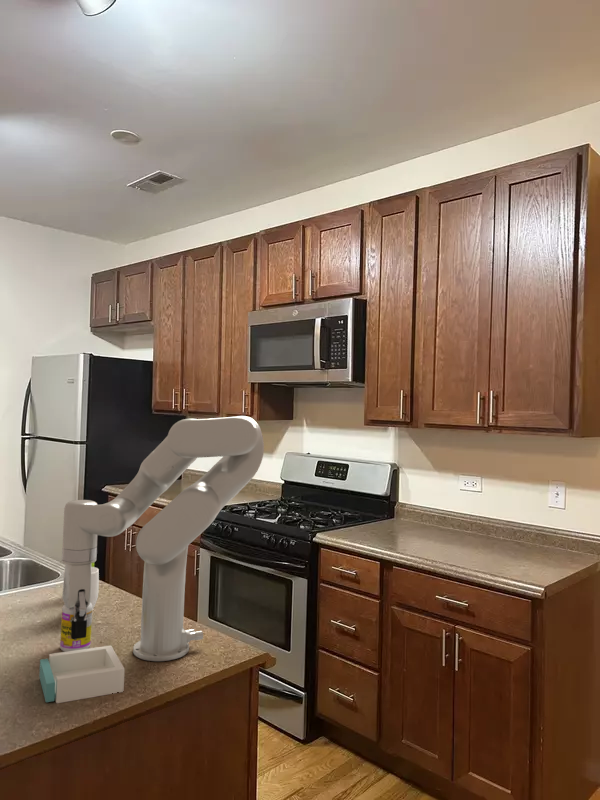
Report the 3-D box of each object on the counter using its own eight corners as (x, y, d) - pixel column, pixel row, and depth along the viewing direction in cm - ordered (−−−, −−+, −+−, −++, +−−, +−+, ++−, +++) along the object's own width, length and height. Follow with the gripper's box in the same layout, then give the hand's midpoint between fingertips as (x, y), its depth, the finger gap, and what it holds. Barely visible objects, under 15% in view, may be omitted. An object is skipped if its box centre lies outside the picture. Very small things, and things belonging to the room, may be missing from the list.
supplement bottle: (53, 651, 143) (56, 594, 143) (71, 641, 149) (73, 586, 149) (80, 655, 141) (82, 597, 141) (96, 644, 147) (98, 589, 148)
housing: (110, 666, 136) (111, 645, 136) (123, 691, 124) (124, 668, 124) (48, 675, 130) (49, 653, 130) (56, 703, 119) (57, 679, 119)
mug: (99, 618, 164) (99, 573, 164) (62, 622, 161) (63, 575, 161) (97, 604, 175) (97, 561, 175) (63, 607, 172) (63, 564, 172)
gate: (47, 675, 129) (47, 658, 130) (54, 700, 119) (55, 682, 119) (39, 676, 129) (40, 659, 129) (45, 702, 118) (46, 683, 118)
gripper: (57, 547, 151) (54, 622, 151) (67, 565, 136) (63, 648, 136) (89, 545, 155) (86, 618, 154) (103, 562, 139) (99, 643, 139)
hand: (76, 631), depth 145 cm, fingers closed on supplement bottle, 6 cm apart
